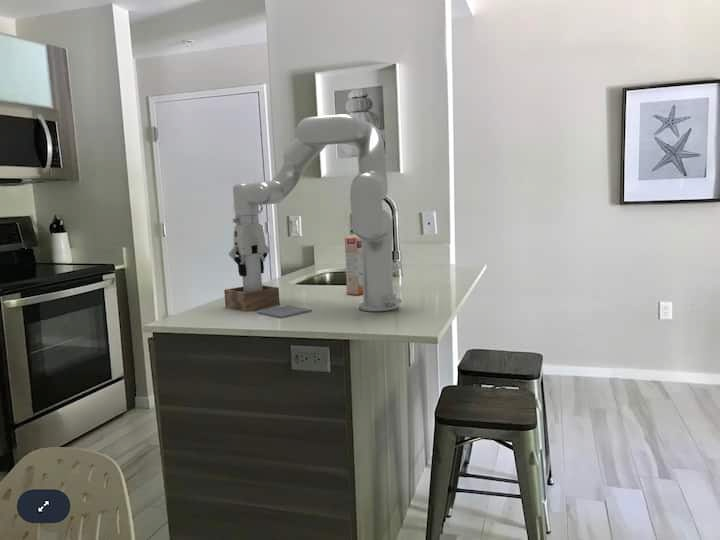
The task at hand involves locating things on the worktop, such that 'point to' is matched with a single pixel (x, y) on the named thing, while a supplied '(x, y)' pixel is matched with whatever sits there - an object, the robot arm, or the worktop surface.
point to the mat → (284, 311)
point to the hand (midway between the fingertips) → (251, 274)
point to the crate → (252, 298)
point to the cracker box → (354, 265)
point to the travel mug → (252, 272)
